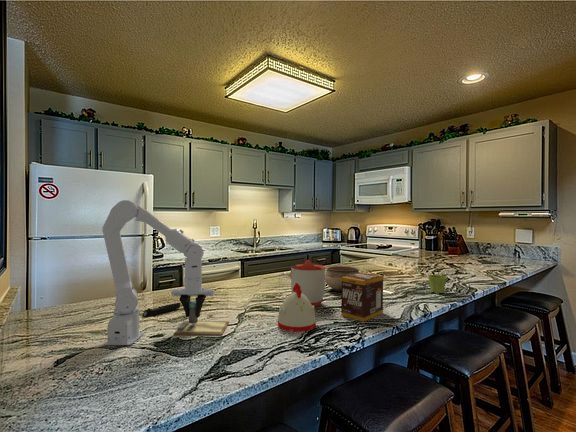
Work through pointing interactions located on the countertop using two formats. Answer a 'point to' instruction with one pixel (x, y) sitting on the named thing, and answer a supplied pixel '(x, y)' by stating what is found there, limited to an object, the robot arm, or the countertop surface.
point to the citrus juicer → (309, 281)
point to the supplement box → (362, 296)
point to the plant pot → (437, 283)
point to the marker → (192, 312)
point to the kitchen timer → (296, 312)
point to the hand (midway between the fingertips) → (193, 316)
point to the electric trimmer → (160, 309)
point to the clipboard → (202, 328)
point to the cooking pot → (338, 275)
